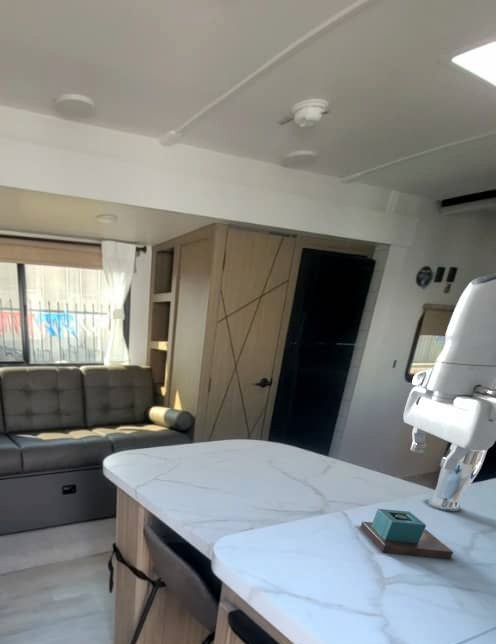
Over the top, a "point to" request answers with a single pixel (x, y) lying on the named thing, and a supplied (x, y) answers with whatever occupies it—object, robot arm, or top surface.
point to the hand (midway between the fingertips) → (430, 459)
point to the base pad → (424, 548)
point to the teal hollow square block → (398, 526)
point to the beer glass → (456, 480)
